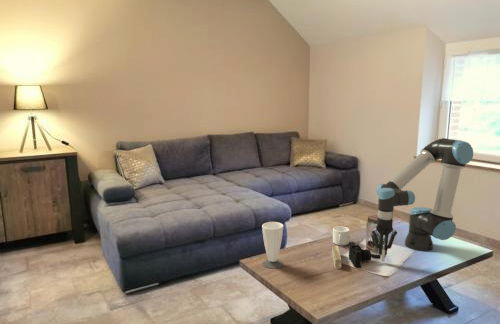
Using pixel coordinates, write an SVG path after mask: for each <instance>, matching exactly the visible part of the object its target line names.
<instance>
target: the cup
mask: <svg viewBox="0 0 500 324" xmlns="http://www.w3.org/2000/svg"><path fill="white" fill-rule="evenodd" d="M261 229H262V236H263V237H262V238H263V243H264V245H263V246H264V249H265V253H266V257H267V259H265V260H266V261H264V260H263V261H264V262H263V261H262V262H263V263H261V264H264V265H262V266H263V267H264V266H265V267H264V268H266V267H267V268H266V269H270V268H273V269H274V268H275V269H279V268H282V267H283V266H284V262H283V260H280V259H278V258H279V255H280V250H281V246H282V240H283V235H284V233H283V232H284V224H283V223H281V222H278V221H268V222H265V223H263V224H262V225H261Z"/></svg>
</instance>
